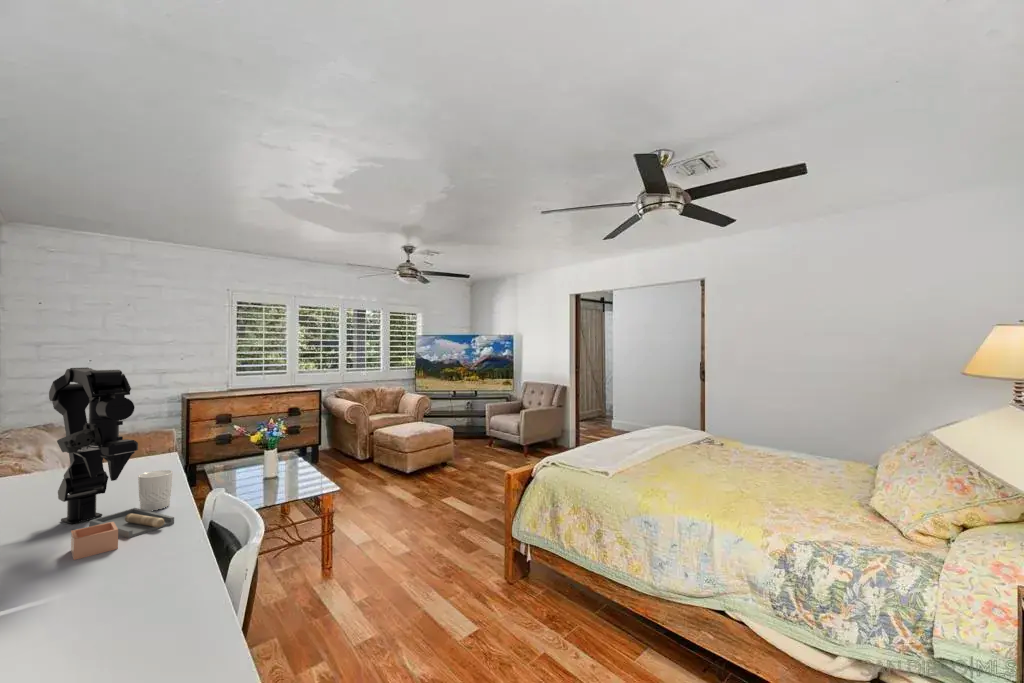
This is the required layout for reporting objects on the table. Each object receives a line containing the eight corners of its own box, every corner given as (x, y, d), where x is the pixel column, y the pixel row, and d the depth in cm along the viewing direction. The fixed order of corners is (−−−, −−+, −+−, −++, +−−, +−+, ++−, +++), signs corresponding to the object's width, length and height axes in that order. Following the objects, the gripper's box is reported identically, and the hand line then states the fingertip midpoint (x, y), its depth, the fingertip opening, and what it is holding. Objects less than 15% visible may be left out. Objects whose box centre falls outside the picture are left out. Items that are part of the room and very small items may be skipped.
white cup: (152, 513, 124) (153, 478, 124) (130, 511, 126) (130, 476, 126) (178, 504, 132) (179, 470, 132) (157, 502, 133) (158, 469, 134)
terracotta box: (70, 552, 100) (71, 530, 100) (113, 542, 105) (113, 521, 105) (73, 562, 95) (73, 539, 95) (117, 551, 100) (118, 529, 101)
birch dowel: (122, 517, 114) (145, 509, 109) (131, 512, 116) (154, 503, 111) (135, 535, 115) (159, 528, 110) (144, 529, 117) (168, 522, 112)
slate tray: (89, 529, 113) (89, 520, 113) (134, 515, 122) (135, 507, 122) (128, 540, 106) (128, 531, 106) (174, 525, 115) (174, 517, 115)
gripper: (43, 421, 110) (42, 484, 109) (83, 424, 102) (83, 491, 102) (99, 415, 120) (98, 472, 119) (139, 417, 113) (139, 478, 112)
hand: (103, 478), depth 113 cm, fingers open, 9 cm apart
